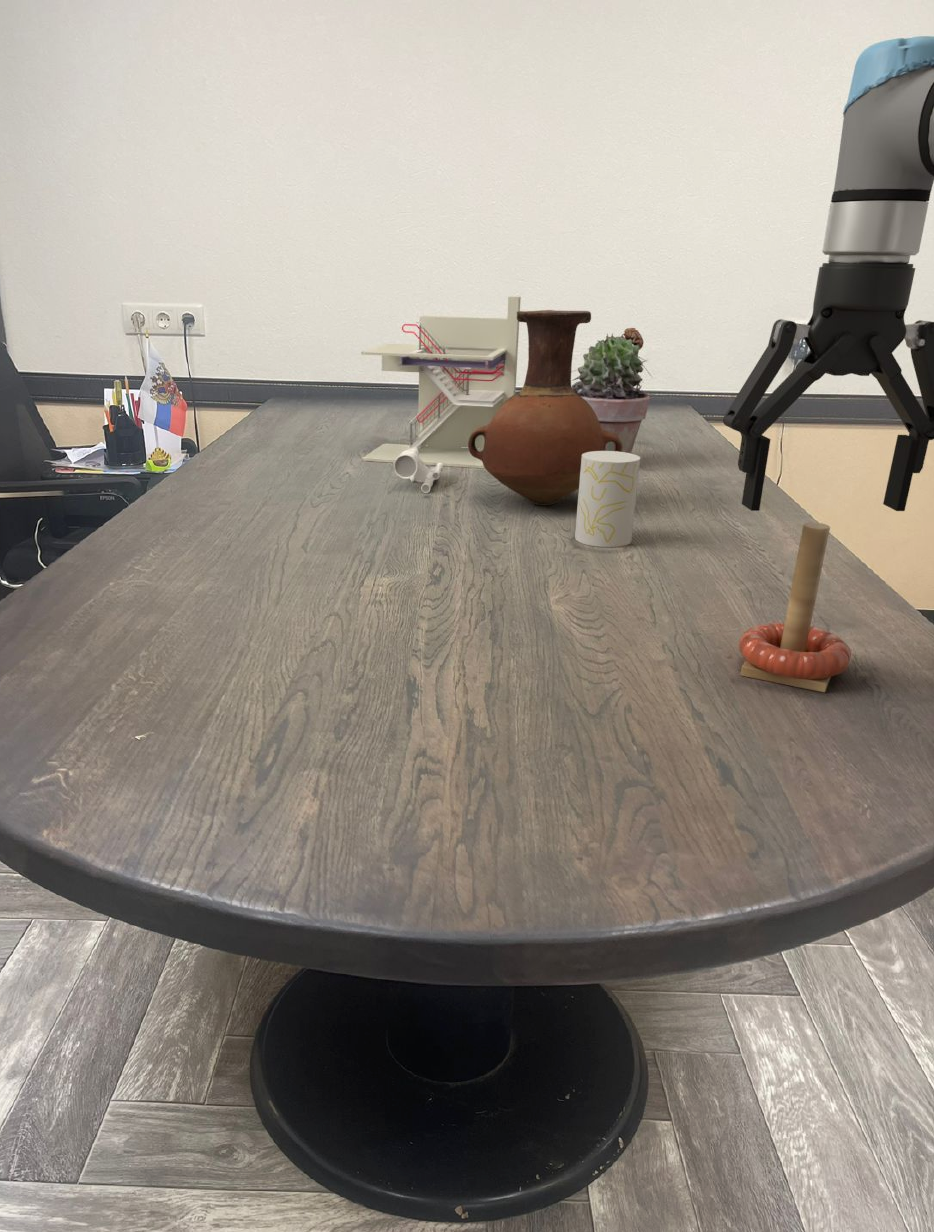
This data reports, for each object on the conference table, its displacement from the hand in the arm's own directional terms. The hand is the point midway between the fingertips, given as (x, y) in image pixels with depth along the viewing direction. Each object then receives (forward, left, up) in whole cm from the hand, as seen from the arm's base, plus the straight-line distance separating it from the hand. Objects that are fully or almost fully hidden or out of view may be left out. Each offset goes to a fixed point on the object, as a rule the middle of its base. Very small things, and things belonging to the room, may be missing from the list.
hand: (821, 508), depth 89 cm
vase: (+48, -51, -17) cm, 72 cm away
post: (0, 0, -17) cm, 17 cm away
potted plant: (+50, -87, -17) cm, 102 cm away
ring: (0, 0, -14) cm, 14 cm away
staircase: (+80, -75, -17) cm, 111 cm away
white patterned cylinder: (+32, -36, -17) cm, 51 cm away
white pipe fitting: (+72, -53, -17) cm, 91 cm away
